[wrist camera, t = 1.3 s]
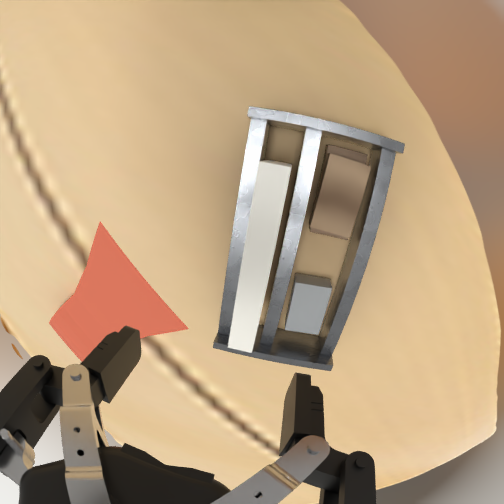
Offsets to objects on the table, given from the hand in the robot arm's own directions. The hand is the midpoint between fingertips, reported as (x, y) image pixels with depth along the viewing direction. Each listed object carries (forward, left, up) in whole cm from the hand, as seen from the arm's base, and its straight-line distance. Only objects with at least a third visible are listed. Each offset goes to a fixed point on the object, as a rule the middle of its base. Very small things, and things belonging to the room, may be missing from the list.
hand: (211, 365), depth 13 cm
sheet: (+18, -24, -23) cm, 38 cm away
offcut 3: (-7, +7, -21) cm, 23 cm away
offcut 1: (+7, +7, -23) cm, 25 cm away
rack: (0, +4, -23) cm, 23 cm away
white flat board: (0, 0, -23) cm, 23 cm away
